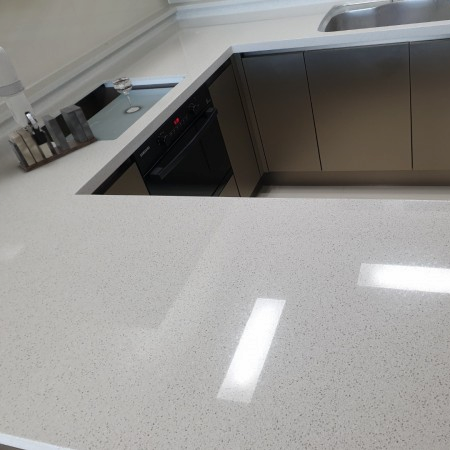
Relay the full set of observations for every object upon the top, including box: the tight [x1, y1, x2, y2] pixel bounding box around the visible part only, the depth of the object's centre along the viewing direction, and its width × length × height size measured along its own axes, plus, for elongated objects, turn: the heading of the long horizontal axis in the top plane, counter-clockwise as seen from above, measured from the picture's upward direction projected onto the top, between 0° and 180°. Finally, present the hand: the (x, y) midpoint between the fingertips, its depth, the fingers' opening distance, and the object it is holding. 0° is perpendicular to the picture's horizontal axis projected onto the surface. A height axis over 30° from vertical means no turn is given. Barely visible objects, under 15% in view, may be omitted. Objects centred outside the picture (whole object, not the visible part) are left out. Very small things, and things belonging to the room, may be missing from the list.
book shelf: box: [7, 104, 98, 172], centre depth 154 cm, size 24×8×12 cm, turn 134°
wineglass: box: [112, 76, 140, 113], centre depth 178 cm, size 7×7×12 cm
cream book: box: [26, 126, 53, 158], centre depth 152 cm, size 2×6×10 cm, turn 44°
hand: (39, 141), depth 152 cm, fingers closed on cream book, 6 cm apart
